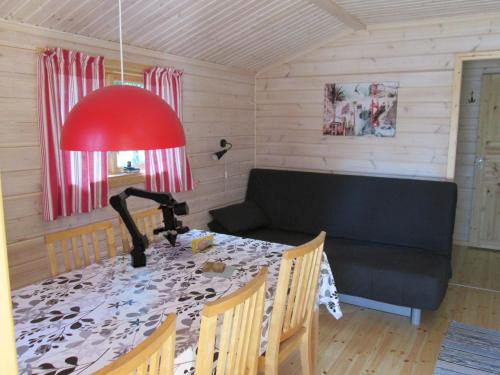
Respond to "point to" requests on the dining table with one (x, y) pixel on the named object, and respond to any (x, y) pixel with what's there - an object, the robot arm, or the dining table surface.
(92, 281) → the dining table surface
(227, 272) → the mat
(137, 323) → the dining table surface
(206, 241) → the candy box
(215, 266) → the walnut block
